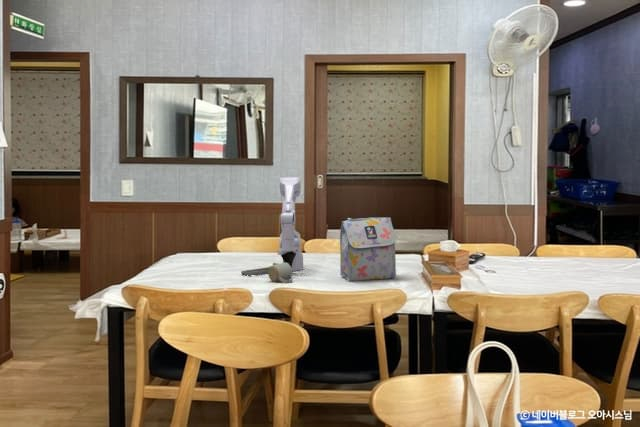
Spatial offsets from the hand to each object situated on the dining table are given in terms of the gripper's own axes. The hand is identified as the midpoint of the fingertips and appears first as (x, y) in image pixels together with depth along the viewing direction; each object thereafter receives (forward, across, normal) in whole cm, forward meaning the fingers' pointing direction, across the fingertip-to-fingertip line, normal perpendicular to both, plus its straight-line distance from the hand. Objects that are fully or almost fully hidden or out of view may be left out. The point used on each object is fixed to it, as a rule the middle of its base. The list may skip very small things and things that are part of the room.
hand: (288, 268), depth 318 cm
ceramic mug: (+3, +15, +7) cm, 17 cm away
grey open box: (+3, +2, -14) cm, 14 cm away
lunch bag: (+3, -9, +35) cm, 36 cm away
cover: (+1, -1, -6) cm, 6 cm away
